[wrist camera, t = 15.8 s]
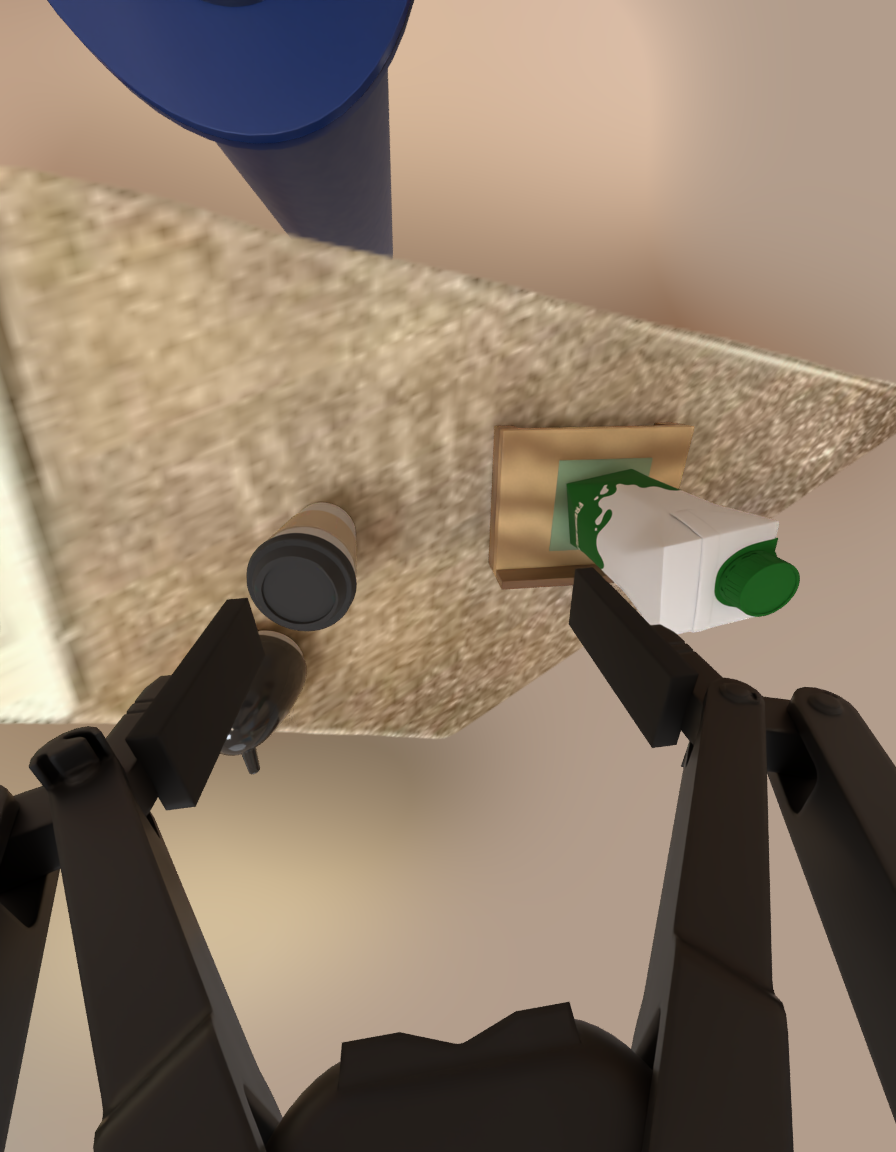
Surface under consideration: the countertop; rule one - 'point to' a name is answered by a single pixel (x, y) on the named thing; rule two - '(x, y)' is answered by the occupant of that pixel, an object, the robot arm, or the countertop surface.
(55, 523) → the countertop surface
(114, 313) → the countertop surface
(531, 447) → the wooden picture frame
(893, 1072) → the robot arm
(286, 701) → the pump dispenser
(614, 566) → the soya milk
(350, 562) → the coffee cup
